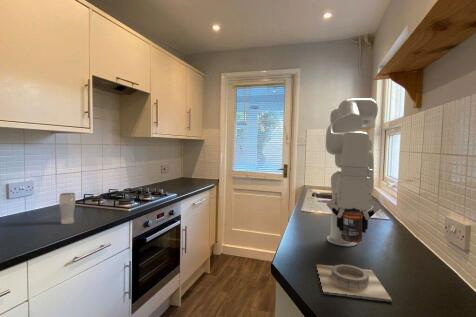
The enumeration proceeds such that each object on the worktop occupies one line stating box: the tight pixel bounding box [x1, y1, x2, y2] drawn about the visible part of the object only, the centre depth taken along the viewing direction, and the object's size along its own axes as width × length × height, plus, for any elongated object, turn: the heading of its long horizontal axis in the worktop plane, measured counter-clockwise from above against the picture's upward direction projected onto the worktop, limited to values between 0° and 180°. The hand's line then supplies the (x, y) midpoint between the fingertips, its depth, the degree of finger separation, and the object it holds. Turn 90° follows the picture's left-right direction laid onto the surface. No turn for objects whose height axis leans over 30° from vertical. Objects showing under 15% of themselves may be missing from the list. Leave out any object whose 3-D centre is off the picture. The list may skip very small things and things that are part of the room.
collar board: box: [316, 263, 393, 302], centre depth 84 cm, size 18×18×4 cm
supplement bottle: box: [341, 208, 363, 244], centre depth 83 cm, size 6×6×11 cm
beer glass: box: [58, 192, 76, 225], centre depth 138 cm, size 7×7×15 cm
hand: (351, 230), depth 83 cm, fingers closed on supplement bottle, 5 cm apart
